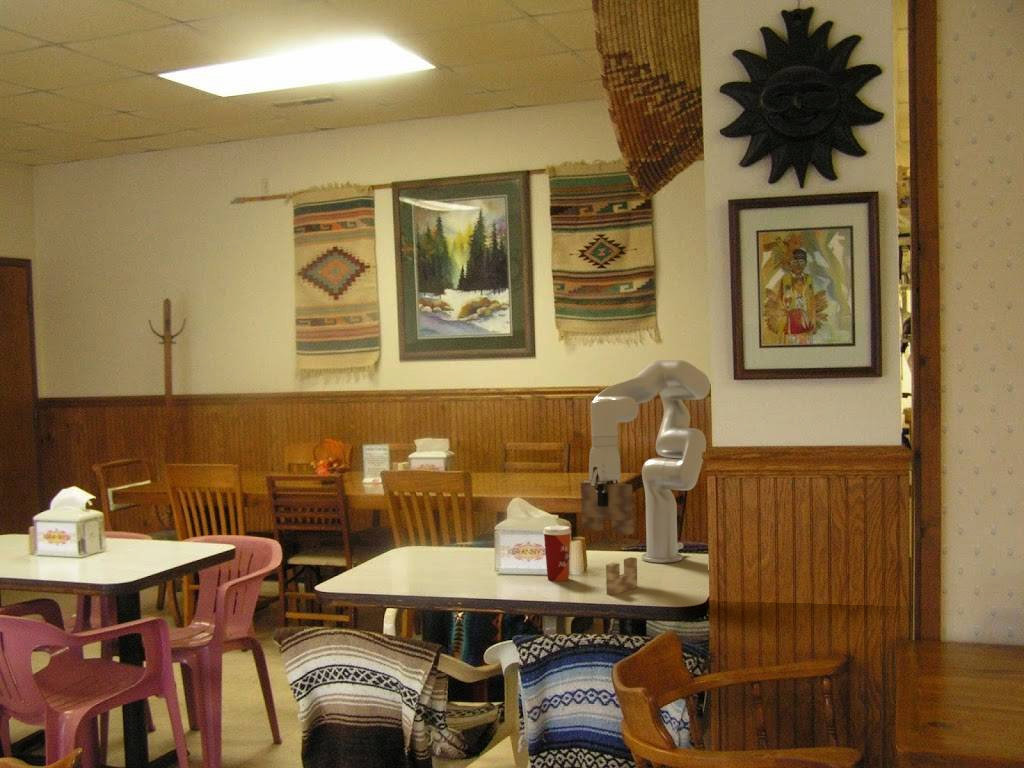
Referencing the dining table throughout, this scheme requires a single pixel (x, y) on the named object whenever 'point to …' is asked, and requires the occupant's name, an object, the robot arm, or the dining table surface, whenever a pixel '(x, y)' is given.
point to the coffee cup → (557, 552)
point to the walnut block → (608, 508)
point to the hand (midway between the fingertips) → (606, 504)
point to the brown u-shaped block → (621, 576)
